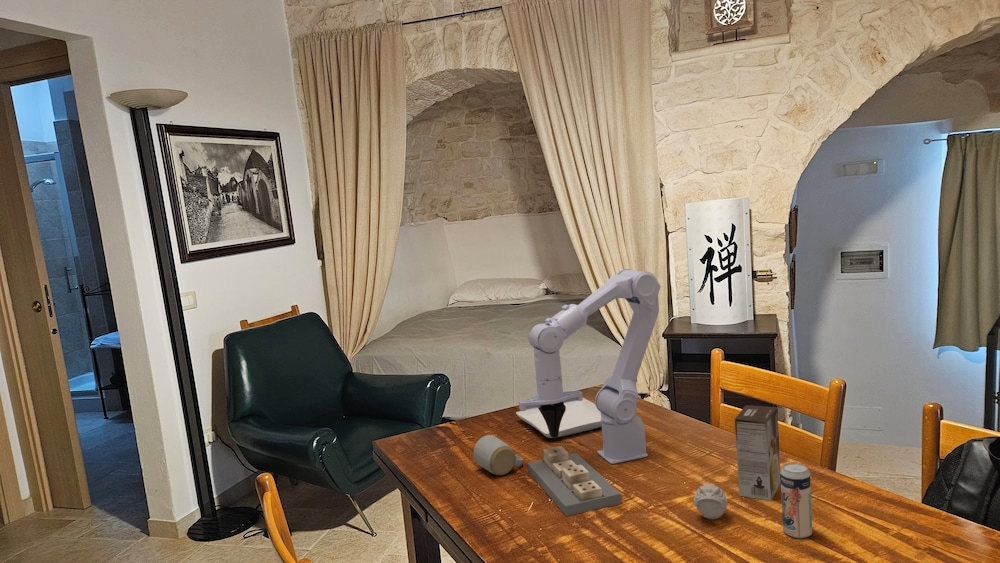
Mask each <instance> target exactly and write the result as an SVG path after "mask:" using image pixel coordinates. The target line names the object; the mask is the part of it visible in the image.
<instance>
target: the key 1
mask: <svg viewBox="0 0 1000 563" xmlns="http://www.w3.org/2000/svg"><path fill="white" fill-rule="evenodd" d="M542 451H543V460H544V463H545V464H546V465H547V466H548V467H549V469H552V468H553V464H554V463H559V462H563V461H568V460H569V457H568V455H569V452H568V451H567V450H566V449H565V448H564V447H563V446H562V445H561V446H555V447H549V448H546V449H543V450H542Z"/></svg>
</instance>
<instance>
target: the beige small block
mask: <svg viewBox="0 0 1000 563" xmlns="http://www.w3.org/2000/svg"><path fill="white" fill-rule="evenodd" d="M562 476H563V483H564V484H565V486H566V487H567V488H568V489H569V490H572V489H573V484H578V483H583V482H587V481H590V475H589V471H587V470H586V469H585V468H584V467H583V466H582V465H577V466H572V467H567V468H563V469H562Z"/></svg>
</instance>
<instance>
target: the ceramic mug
mask: <svg viewBox="0 0 1000 563" xmlns="http://www.w3.org/2000/svg"><path fill="white" fill-rule="evenodd" d="M472 454H473V455H472V456H473V459H474V461H475V463H476V464H477V465H478V466H480V467H481V468H483V469H484V470H486V471H488V472H490V473H491V474H492V475H496V476H505V475H506V474H508V473H510V472H511V471H512V469H513V468H514V467H522V465H523V463H524V459H523V458H522V457H521V456H520V455H518V454H516V453H515V451H514V450H513V448H512V447H511V446H510V445H509V444H507V443H506V442H504V441H503V440H501V439H500V438H499V437H497V436H496V435H492V434H486V435H484V436H482V437H480V438H479V439H478V440H477V441H476V443H475V445H474V447H473V453H472Z"/></svg>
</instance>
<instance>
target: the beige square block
mask: <svg viewBox="0 0 1000 563" xmlns="http://www.w3.org/2000/svg"><path fill="white" fill-rule="evenodd" d="M573 492H574V495H575V496H576V497H577V499H578V500H579V501H580V502H582V501H587V500H591V499H596V498H600V497H602V488H600V487H599V486H598V485H597V484H596V483H595V482H594V481H593V480H592V481H587V482H583V483H578V484H573Z"/></svg>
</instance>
